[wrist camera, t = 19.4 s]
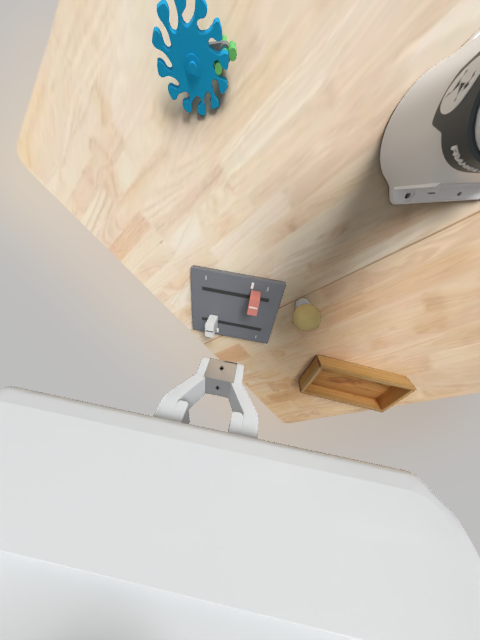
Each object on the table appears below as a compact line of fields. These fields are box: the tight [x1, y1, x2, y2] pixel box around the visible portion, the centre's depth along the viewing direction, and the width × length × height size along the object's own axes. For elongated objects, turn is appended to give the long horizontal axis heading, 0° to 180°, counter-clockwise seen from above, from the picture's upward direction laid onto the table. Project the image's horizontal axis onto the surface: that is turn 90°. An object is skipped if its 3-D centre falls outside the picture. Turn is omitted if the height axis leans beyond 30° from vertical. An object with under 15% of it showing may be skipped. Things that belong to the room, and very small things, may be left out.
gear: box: [152, 0, 237, 115], centre depth 24 cm, size 11×6×10 cm
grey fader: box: [205, 315, 218, 338], centre depth 49 cm, size 2×4×5 cm, turn 172°
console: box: [191, 265, 286, 344], centre depth 48 cm, size 24×20×2 cm
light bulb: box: [292, 298, 321, 331], centre depth 42 cm, size 6×6×10 cm
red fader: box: [247, 290, 261, 316], centre depth 42 cm, size 2×4×5 cm, turn 172°
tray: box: [299, 355, 416, 412], centre depth 58 cm, size 31×15×6 cm, turn 78°
